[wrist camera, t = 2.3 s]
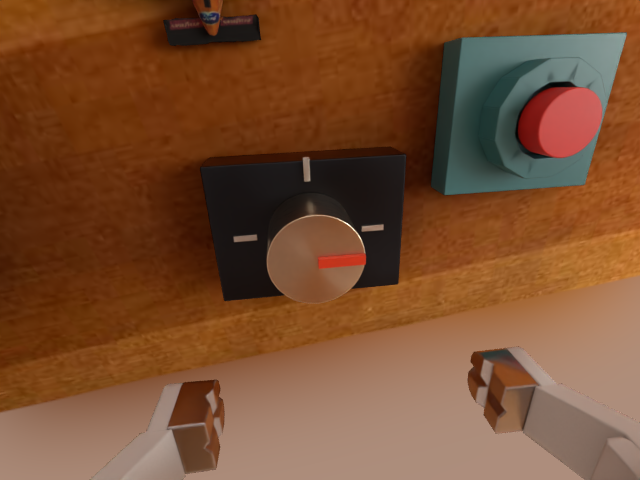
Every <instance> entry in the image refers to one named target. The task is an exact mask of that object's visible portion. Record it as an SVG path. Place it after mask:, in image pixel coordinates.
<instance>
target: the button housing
mask: <svg viewBox="0 0 640 480" xmlns="http://www.w3.org/2000/svg"><path fill="white" fill-rule="evenodd" d="M626 35H627V33H626V32H625V33H594V34H562V35H530V36H499V37H467V38H459V39H456V40H452V41H448V42H445V43H444V53H443V63H442V74H441V85H440V95H439V106H438V116H437V127H436V138H435V148H434V159H433V169H432V180H431V187H432V188H434V189H435V190H437V191H439V192H440V193H442V194H443V195H454V194H468V193H481V192H495V191H508V190H522V189H535V188H549V187H562V186H576V185H584V184H585V181H586V177H587V174H588V170H589V167H590V163H591V160H592V156H593V153H594V149H595V145H596V142H597V138H598V135H599V132H600V128H601V125H602V121H603V117H604V114H605V110H606V107H607V103H608V99H609V95H610V92H611V88H612V85H613V81H614V78H615V74H616V70H617V67H618V63H619V60H620V56H621V53H622V49H623V46H624V42H625V38H626ZM553 87H583V88H587V89H590V90H591V91H593V92H594V93H595V94H596V95H597V96H598V97H599V99H600V101H601V105H602V119H601V123H600V126H599V129H598V131H597V133H596V134H595V136H594V138H593V139H592V140H591V141H590V143H589V144H588V145H587V146H586V147H585V148H583V149H582V150H581V151H579V152H578V153H576V154H574V155H572V156H569V157H565V158H553V157H549V156H545V155H541V154H537V153H533V152H530V151H529V150H527V149H526V148H525V147H524V146H523V145H522V143H521V142H520V140H519V136H518V122H519V118H520V116H521V113H522V111H523V109H524V108H525V106H526V105H527V103H528V102H529V101H530V100H531V99H532V98H533V97H534V96H535V95H537V94H538V93H540V92H542V91H543V90H546V89H549V88H553Z"/></svg>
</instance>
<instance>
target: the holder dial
mask: <svg viewBox="0 0 640 480" xmlns="http://www.w3.org/2000/svg"><path fill="white" fill-rule="evenodd" d="M364 265H366V255H365V249H364V245H363V242H362V240H361V238H360V236H359V234H358V232H357V231H356V229H355V227H354V225H353V223H352V222H351V220H350V218H349V216H348V215H347V213H346V211H345V210H344V208H343V207H342V206H341V205H340V204H339V203H338V202H337V201H335V200H334V199H332V198H331V197H329V196H326V195H323V194H319V193H303V194H299V195H296V196H293V197H291V198H289V199H287V200H286V201H285V202H283V203H282V204H281V205H280V206H279V207H278V208H277V209H276V211H275V212H274V214H273V215H272V217H271V220H270V223H269V228H268V243H267V270H268V273H269V276H270V278H271V280H272V282H273V284H274V285H275V286H276V287H277V288H278V289H279V291H281V292H282V293H283V294H284V295H286V296H288V297H289V298H291V299H294V300H296V301H300V302H304V303H323V302H327V301H331V300H333V299H336V298H338V297H340V296H342V295H343V294H345V293H346V292H347V291H349V290H350V289H351V288H352V287H353V286H354V285H355V284H356V282H357V281H358V279H359V278H360V276H361V274H362V271H363V268H364Z"/></svg>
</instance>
